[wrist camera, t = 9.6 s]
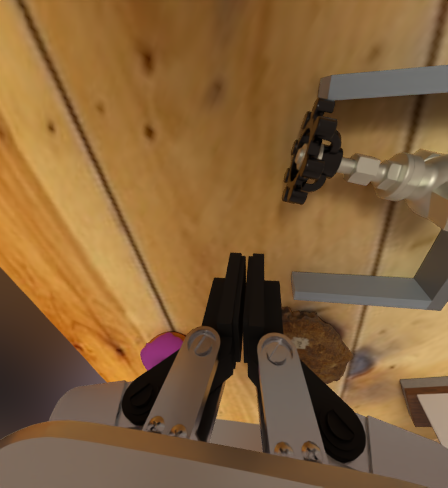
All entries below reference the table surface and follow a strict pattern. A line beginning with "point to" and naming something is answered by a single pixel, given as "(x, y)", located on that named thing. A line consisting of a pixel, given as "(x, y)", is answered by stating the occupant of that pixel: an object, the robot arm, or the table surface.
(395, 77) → the dock cradle
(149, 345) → the donut
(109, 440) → the robot arm
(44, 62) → the table surface
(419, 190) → the valve
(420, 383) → the banded square pillar
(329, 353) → the decorative rock
